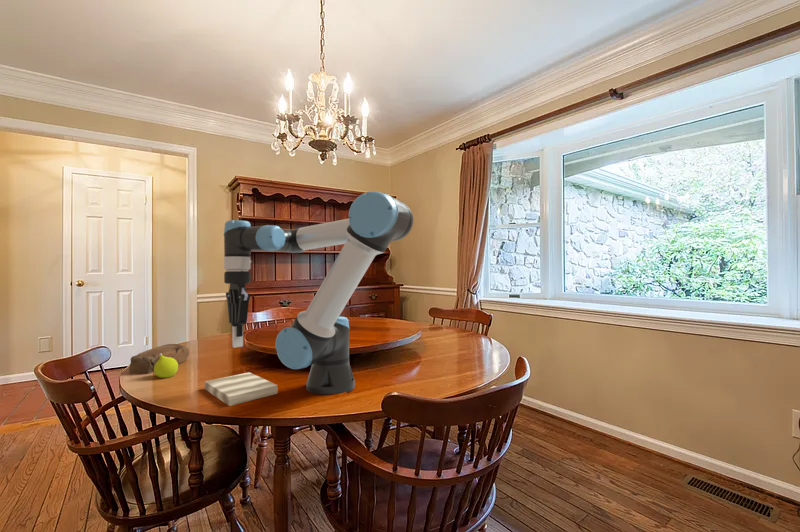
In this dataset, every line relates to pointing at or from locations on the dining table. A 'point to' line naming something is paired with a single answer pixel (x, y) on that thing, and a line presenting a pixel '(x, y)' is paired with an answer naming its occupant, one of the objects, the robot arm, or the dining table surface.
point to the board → (240, 388)
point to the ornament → (165, 367)
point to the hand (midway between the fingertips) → (237, 346)
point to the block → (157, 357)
